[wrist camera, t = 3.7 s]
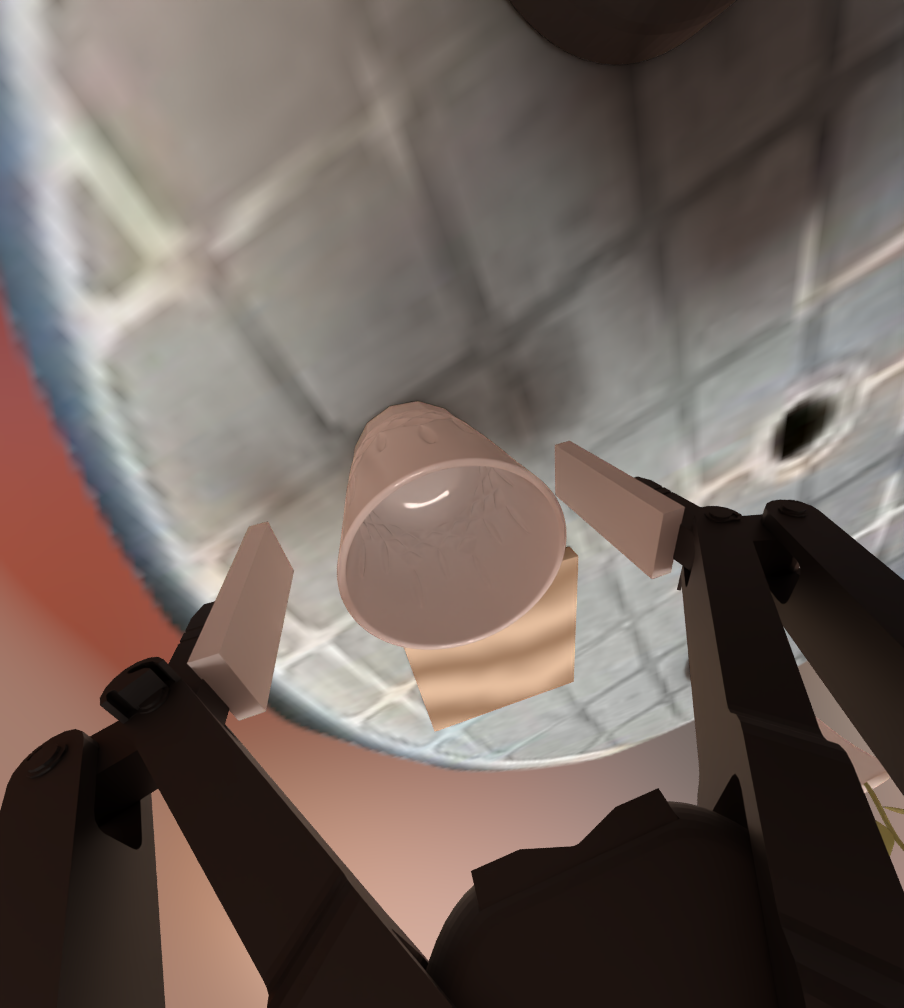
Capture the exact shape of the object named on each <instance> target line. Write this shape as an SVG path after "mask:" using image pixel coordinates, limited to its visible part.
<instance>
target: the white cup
mask: <svg viewBox="0 0 904 1008" xmlns="http://www.w3.org/2000/svg"><path fill="white" fill-rule="evenodd" d="M565 547H566V524H565V518H564V515H563V512H562V509H561V506H560V504H559V502H558V500H557V499H556V497H555V495H554V494H553V493H552V491H551V490H550V489H549V488H548V486H547V485H546V484H545V483H544V482H543V481H541V480H540V479H539V478H538V477H536V476H535V475H534V474H533V473H531V472H530V471H529V470H527V469H526V468H525V467H523V466H522V465H521V464H520V463H518V462H517V461H516V460H515V459H513V458H512V457H511V456H509V455H508V454H507V453H506V452H504V451H503V450H502V449H501V448H499V447H498V446H497V445H496V444H494V443H493V442H492V441H491V440H489V439H488V438H487V437H485V436H484V435H482V434H481V433H479V432H478V431H476V430H475V429H474V428H472V427H471V426H469V425H468V424H467V423H465V422H464V421H462V420H460V419H458V418H456V417H454V416H453V415H452V414H450V413H449V412H448V411H447V410H446V409H444V408H440V407H437V406H433V405H430V404H427V403H423V402H420V401H416V402H410V403H405V404H399V405H394V406H390V407H388V408H387V409H386V410H384V411H383V412H382V413H380V414H379V415H377V416H376V417H375V418H373V419H372V420H371V421H369V422H368V423H367V424H366V426H365V428H364V430H363V432H362V434H361V436H360V438H359V440H358V442H357V444H356V446H355V449H354V459H353V462H352V466H351V469H350V475H349V482H348V486H347V491H346V499H345V508H344V516H343V525H342V533H341V541H340V548H339V556H338V564H337V581H338V587H339V591H340V595H341V598H342V600H343V603H344V605H345V607H346V608H347V610H348V612H349V613H350V615H351V616H352V617H353V618H354V620H355V621H356V622H357V623H358V624H359V625H360V626H361V627H362V628H364V629H365V630H366V631H368V632H369V633H370V634H372V635H374V636H375V637H377V638H379V639H381V640H383V641H386V642H388V643H391V644H394V645H397V646H401V647H405V648H411V649H421V650H438V649H448V648H454V647H459V646H463V645H467V644H471V643H474V642H477V641H480V640H482V639H485V638H487V637H489V636H492V635H494V634H496V633H498V632H500V631H501V630H503V629H505V628H507V627H508V626H510V625H511V624H513V623H514V622H516V621H517V620H518V619H520V618H521V617H522V616H523V615H525V614H526V613H527V612H528V611H529V610H530V609H531V608H532V607H533V606H534V605H535V604H536V603H537V602H538V601H539V600H540V599H541V598H542V596H543V595H544V594H545V593H546V591H547V590H548V588H549V587H550V586H551V584H552V582H553V581H554V579H555V577H556V575H557V573H558V571H559V568H560V566H561V563H562V560H563V556H564V552H565Z"/></svg>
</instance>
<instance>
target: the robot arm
mask: <svg viewBox="0 0 904 1008" xmlns="http://www.w3.org/2000/svg"><path fill="white" fill-rule="evenodd" d="M509 1H510V2H511V3H512V4H513V6H514V7H515V8H516V9H517V11H518V12H519V13H520V14H521V15H522V16H523V17H524V18H525V19H526V21H527V22H528V23H529V24H530V25H531V26H533V27H534V28H535V29H536V30H537V31H538V32H539V33H540V34H541V35H543V36H544V37H545V38H546V39H548V40H549V41H550V42H552V43H553V44H555V45H556V46H558V47H559V48H561V49H563V50H564V51H566V52H568V53H570V54H572V55H574V56H576V57H579V58H582V59H585V60H588V61H591V62H596V63H601V64H610V65H623V64H632V63H638V62H642V61H645V60H649V59H652V58H655V57H657V56H659V55H662V54H664V53H666V52H668V51H670V50H672V49H673V48H675V47H677V46H679V45H680V44H682V43H683V42H685V41H686V40H688V39H689V38H690V37H692V36H693V35H694V34H695V33H697V32H698V31H699V30H700V29H702V28H703V27H704V26H705V25H707V24H708V23H709V22H710V21H712V20H713V19H714V18H715V17H717V16H718V15H719V14H720V13H722V12H723V11H724V10H725V9H727V8H728V7H729V6H730V5H732V4H733V3H734V2H735V1H737V0H509ZM555 495H556V496H557V497H558V498H559V499H560V500H562V501H563V502H564V503H565V504H566V505H567V506H569V507H570V508H571V509H572V510H573V511H574V512H575V513H577V514H578V515H579V516H580V517H581V518H582V519H583V520H585V521H586V522H587V523H588V524H589V525H590V526H591V527H593V528H594V529H595V530H596V531H597V532H598V533H599V534H601V535H602V536H603V537H604V538H605V539H606V540H608V541H609V542H610V543H611V544H612V545H613V546H614V547H616V548H617V549H618V550H619V551H620V552H621V553H622V554H624V555H625V556H626V557H627V558H628V559H629V560H630V561H632V562H633V563H634V564H635V565H636V566H637V567H638V568H640V569H641V570H642V571H643V572H644V573H645V574H647V575H648V576H649V577H650V578H651V579H654V578H657V577H659V576H662V575H665V574H668V573H671V569H672V564H673V560H674V559H675V560H676V561H677V562H679V563H680V564H681V565H683V566H682V570H681V575H680V579H679V583H678V587H677V590H681V588H682V593H683V603H684V614H685V624H686V634H687V645H688V655H689V666H690V676H691V687H692V697H693V708H694V718H695V729H696V739H697V749H698V760H699V787H698V799H697V801H698V802H697V806H696V805H692V804H687V803H681V802H670V801H669V802H667V801H666V799H665V798H664V796H663V794H662V793H661V791H660V790H659V788H658V789H655V790H653V791H651V792H649V793H647V794H644V795H642V796H640V797H637V798H635V799H633V800H631V801H628V802H626V803H624V804H621V805H619V806H617V807H615V808H614V809H613V810H612V811H611V812H610V813H609V814H608V815H607V816H606V817H605V818H604V819H603V820H602V821H601V822H600V823H599V824H598V825H597V826H596V827H595V828H594V829H593V830H592V831H591V832H590V833H589V834H588V835H587V836H586V837H585V838H584V839H583V840H582V841H581V842H580V843H579V844H577V845H575V846H571V847H553V848H536V849H520V850H517V851H515V852H513V853H511V854H508V855H506V856H504V857H502V858H500V859H497V860H495V861H493V862H490V863H488V864H486V865H484V866H481V867H479V868H477V869H474V870H472V871H471V873H472V877H473V882H474V886H473V887H472V888H471V889H469V891H467V892H466V893H465V894H464V896H463V897H462V898H461V899H460V901H459V902H458V903H457V904H456V906H455V907H454V908H453V910H452V912H451V913H450V915H449V917H448V918H447V920H446V921H445V924H444V925H443V928H442V930H441V932H440V934H439V936H438V938H437V940H436V943H435V946H434V949H433V951H432V954H431V957H430V959H429V961H428V960H427V959H426V957H425V956H424V955H423V954H422V953H421V952H420V950H419V949H418V948H417V947H416V946H415V945H414V943H413V942H412V941H411V940H410V939H409V938H408V937H407V936H406V934H405V933H404V932H403V931H402V930H401V929H400V928H399V926H398V925H397V924H396V923H395V922H394V921H393V920H392V919H391V918H390V917H389V915H387V913H386V912H385V911H384V910H383V909H382V907H381V906H380V905H379V904H378V903H377V902H376V901H375V899H374V898H373V897H372V896H371V895H370V893H369V892H368V891H367V890H366V889H365V888H364V886H363V885H362V884H361V883H360V882H359V880H358V879H357V878H356V877H355V876H354V875H353V873H352V872H351V871H350V870H349V869H348V868H347V867H346V865H345V864H344V863H343V862H342V861H341V859H340V858H339V857H338V856H337V855H336V854H335V852H334V851H333V850H332V849H331V848H330V846H329V845H328V844H327V843H326V842H325V841H324V839H323V838H322V837H321V836H320V835H319V834H318V832H317V831H316V830H315V829H314V828H313V826H312V825H311V824H310V823H309V822H308V821H307V820H306V818H305V817H304V816H303V815H302V814H301V812H300V811H299V810H298V809H297V808H296V807H295V805H294V804H293V803H292V802H291V801H290V799H289V798H288V797H287V796H286V795H285V794H284V792H283V791H282V790H281V789H280V788H279V787H278V785H277V784H276V783H275V782H274V781H273V780H272V778H270V776H269V775H268V774H267V772H266V771H265V770H264V769H263V768H262V767H261V765H260V764H259V763H258V762H257V761H256V760H255V758H254V757H253V756H252V755H251V754H250V753H249V751H248V750H247V749H246V748H245V747H244V746H243V745H242V743H241V742H240V741H239V740H238V739H237V737H236V736H235V735H234V734H233V733H232V731H231V730H230V729H229V728H228V727H227V726H226V725H225V722H226V719H227V715H228V712H229V710H230V712H231V713H232V714H233V715H234V716H235V717H236V718H237V719H238V720H242V719H245V718H248V717H251V716H254V715H257V714H260V713H263V712H265V711H266V707H267V702H268V697H269V692H270V687H271V682H272V677H273V672H274V667H275V662H276V657H277V652H278V647H279V642H280V637H281V632H282V628H283V623H284V618H285V613H286V608H287V603H288V598H289V593H290V588H291V583H292V578H293V573H294V570H293V568H292V566H291V564H290V562H289V561H288V559H287V557H286V555H285V553H284V551H283V549H282V547H281V545H280V543H279V542H278V540H277V538H276V536H275V534H274V532H273V530H272V528H271V526H270V524H269V523H268V522H264V523H260V524H257V525H253V526H249V527H248V530H247V532H246V534H245V536H244V539H243V541H242V543H241V545H240V547H239V550H238V552H237V554H236V556H235V558H234V561H233V563H232V565H231V567H230V569H229V572H228V574H227V576H226V578H225V580H224V583H223V585H222V587H221V589H220V592H219V594H218V596H217V598H216V600H215V601H214V602H211V603H207V604H204V605H203V606H202V607H201V608H200V609H199V610H198V611H197V613H196V614H195V615H194V616H193V617H192V618H191V620H190V622H189V624H188V626H187V628H186V630H185V631H186V633H184V634H183V636H182V638H181V640H180V644H178V647H177V648H176V650H175V652H174V654H173V656H172V658H171V660H170V662H169V664H167V663H166V662H165V660H164V659H161V658H159V657H151V658H147V659H144V660H142V661H139V662H137V663H135V664H134V665H132V666H130V667H128V668H127V669H125V670H124V671H123V672H121V673H120V674H119V675H118V676H116V677H115V678H114V679H113V680H112V681H111V682H110V684H109V685H108V686H107V687H106V688H105V690H104V691H103V693H102V695H101V697H100V706H102V707H103V708H104V709H105V710H106V711H108V712H109V713H110V714H111V715H113V716H114V717H115V718H116V719H118V720H119V721H117V722H115V723H114V724H112V725H110V726H108V727H106V728H105V729H103V730H101V731H99V732H98V733H96V734H94V735H92V736H90V737H89V736H88V735H87V734H85V733H84V732H83V731H80V730H76V729H74V730H69V731H65V732H63V733H61V734H59V735H57V736H54V737H52V738H51V739H49V740H48V741H46V742H45V743H43V744H42V745H41V746H39V747H38V748H37V749H35V750H34V751H33V752H32V753H31V754H29V755H28V757H27V758H25V759H24V760H23V762H22V763H21V764H20V765H19V767H18V768H17V769H16V770H15V772H14V773H13V774H12V776H11V778H10V780H9V782H8V784H7V788H6V792H5V796H4V799H3V803H2V806H1V810H0V1008H165V996H164V982H163V966H162V951H161V935H160V922H159V921H160V920H159V906H158V890H157V875H156V860H155V844H154V829H153V815H152V799H151V793H152V792H153V791H155V790H156V789H159V790H160V792H161V794H162V796H163V798H164V800H165V801H166V803H167V805H168V807H169V809H170V811H171V812H172V814H173V816H174V818H175V819H176V821H177V823H178V825H179V827H180V829H181V831H182V833H183V834H184V836H185V838H186V840H187V841H188V843H189V845H190V847H191V849H192V851H193V853H194V854H195V856H196V858H197V860H198V862H199V864H200V865H201V867H202V869H203V871H204V873H205V875H206V876H207V878H208V880H209V882H210V884H211V885H212V887H213V889H214V891H215V893H216V895H217V897H218V898H219V900H220V902H221V904H222V905H223V907H224V909H225V911H226V913H227V915H228V917H229V918H230V920H231V922H232V924H233V926H234V928H235V929H236V931H237V933H238V935H239V937H240V938H241V940H242V942H243V944H244V946H245V948H246V950H247V951H248V953H249V955H250V957H251V959H252V961H253V962H254V964H255V966H256V968H257V970H258V971H259V973H260V975H261V977H262V979H263V981H264V983H265V985H266V987H267V991H268V994H269V997H268V1004H267V1008H904V891H903V889H902V886H901V884H900V881H899V879H898V876H897V874H896V871H895V869H894V866H893V864H892V862H891V859H890V856H889V854H888V851H887V849H886V846H885V844H884V841H883V839H882V836H881V834H880V831H879V829H878V826H877V824H876V821H875V818H874V816H873V814H872V811H871V808H870V806H869V803H868V801H867V798H866V796H865V793H864V791H863V788H862V786H861V783H860V781H859V778H858V776H857V773H856V771H855V768H854V766H853V764H852V762H851V760H850V758H849V756H848V754H847V752H846V751H845V750H844V749H843V748H842V747H841V746H840V745H839V744H837V743H834V742H831V741H828V740H826V738H825V737H824V736H823V735H822V733H821V730H820V728H819V725H818V723H817V720H816V717H815V714H814V712H813V709H812V706H811V703H810V700H809V698H808V695H807V692H806V689H805V686H804V684H803V681H802V678H801V675H800V672H799V669H798V667H797V664H796V661H795V658H794V655H793V653H792V650H791V647H790V644H789V641H788V639H787V636H786V633H785V630H784V628H785V629H786V631H787V632H788V634H789V635H790V636H791V638H792V639H793V641H794V642H795V643H796V645H797V646H798V648H799V649H800V650H801V652H802V653H803V655H804V656H805V658H806V659H807V660H808V662H809V663H810V665H811V666H812V667H813V669H814V670H815V671H816V673H817V674H818V676H819V677H820V679H821V680H822V681H823V683H824V684H825V686H826V687H827V688H828V690H829V691H830V693H831V694H832V696H833V697H834V698H835V700H836V701H837V703H838V704H839V705H840V707H841V708H842V710H843V711H844V712H845V714H846V715H847V717H848V718H849V719H850V721H851V722H852V724H853V725H854V727H855V728H856V729H857V731H858V732H859V733H860V735H861V736H862V738H863V739H864V741H865V742H866V743H867V745H868V746H869V747H870V749H871V750H872V752H873V753H874V754H875V756H876V757H877V759H878V760H879V762H880V763H881V765H882V766H883V767H884V769H885V770H886V772H887V773H888V774H889V776H890V777H891V779H892V780H893V781H894V783H895V784H896V786H897V787H898V788H899V790H900V791H901V793H902V794H903V795H904V580H903V579H902V578H901V577H899V576H898V575H897V574H896V573H895V572H893V571H892V570H891V569H890V568H888V567H887V566H886V565H885V564H884V563H882V562H881V561H880V560H879V559H878V558H876V557H875V556H874V555H873V554H871V553H870V552H869V551H868V550H867V549H865V548H864V547H863V546H862V545H860V544H859V543H858V542H857V541H856V540H854V539H853V538H852V537H851V536H850V535H848V534H847V533H846V532H845V531H843V530H842V529H841V528H840V527H839V526H837V525H836V524H835V523H834V522H833V521H831V520H830V519H829V518H828V517H826V516H825V515H824V514H823V513H822V512H820V511H819V510H818V509H816V508H814V507H813V506H811V505H808V504H805V503H803V502H800V501H795V500H774V501H771V502H769V503H767V504H766V506H765V509H764V512H763V514H762V515H749V516H742V515H741V514H739V513H738V512H736V511H734V510H731V509H728V508H725V507H719V506H706V507H699V506H697V505H695V504H693V503H692V502H690V501H688V500H686V499H684V498H683V497H681V496H679V495H677V494H675V493H673V492H672V493H671V491H670V490H668V489H666V488H662V486H661V485H659V484H657V483H655V482H653V481H652V480H648V479H645V478H641V477H634V478H633V477H632V476H630V475H628V474H626V473H625V472H623V471H621V470H619V469H618V468H616V467H614V466H612V465H611V464H609V463H607V462H606V461H604V460H602V459H600V458H599V457H597V456H595V455H593V454H592V453H590V452H588V451H586V450H585V449H583V448H581V447H579V446H578V445H576V444H574V443H572V442H571V441H567V442H563V443H560V444H556V445H555ZM799 566H800V568H799Z"/></svg>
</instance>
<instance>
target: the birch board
mask: <svg viewBox="0 0 904 1008" xmlns="http://www.w3.org/2000/svg"><path fill="white" fill-rule="evenodd" d="M577 577H578V555H577V554H576V553H575V552H574V551H573V550H572V549H571V548H570V547H567V548H565V552H564V556H563V560H562V563H561V566H560V568H559V571H558V573H557V575H556V577H555V579H554V581H553V582H552V584H551V586H550V587H549V588H548V590H547V591H546V593H545V594H544V595H543V596H542V598H541V599H540V600H539V601H538V602H537V603H536V604H535V605H534V606H533V607H532V608H531V609H530V610H529V611H528V612H527V613H526V614H525V615H523V616H522V617H521V618H520V619H518V620H517V621H516V622H514V623H513V624H511V625H510V626H508V627H507V628H505V629H503V630H501V631H500V632H498V633H496V634H494V635H492V636H489V637H487V638H485V639H482V640H480V641H477V642H474V643H471V644H467V645H463V646H459V647H454V648H448V649H438V650H421V649H411V648H405V647H404V649H405V651H406V654H407V657H408V660H409V662H410V665H411V668H412V671H413V673H414V676H415V679H416V681H417V684H418V687H419V690H420V692H421V695H422V698H423V701H424V703H425V706H426V709H427V711H428V714H429V717H430V720H431V722H432V725H433V728H434V731H438V730H441V729H444V728H446V727H449V726H452V725H455V724H457V723H460V722H463V721H466V720H469V719H471V718H474V717H477V716H480V715H482V714H485V713H488V712H491V711H493V710H496V709H499V708H502V707H505V706H507V705H510V704H513V703H516V702H518V701H521V700H524V699H527V698H530V697H532V696H535V695H538V694H541V693H543V692H546V691H549V690H552V689H554V688H557V687H560V686H563V685H566V684H568V683H571V682H574V656H575V630H576V603H577Z"/></svg>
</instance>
